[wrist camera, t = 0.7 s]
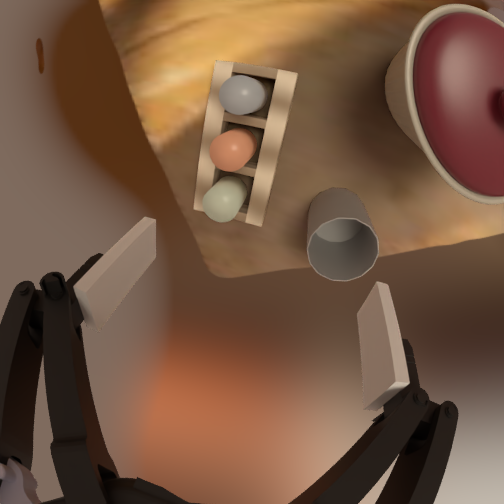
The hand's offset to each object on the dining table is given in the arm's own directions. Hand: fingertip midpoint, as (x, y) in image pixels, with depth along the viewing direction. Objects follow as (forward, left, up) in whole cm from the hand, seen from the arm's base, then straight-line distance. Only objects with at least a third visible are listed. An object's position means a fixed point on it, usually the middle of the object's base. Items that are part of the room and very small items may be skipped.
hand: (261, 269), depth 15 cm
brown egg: (-2, -7, -21) cm, 22 cm away
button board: (-2, -7, -24) cm, 25 cm away
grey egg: (-8, -7, -21) cm, 24 cm away
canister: (-16, +15, -25) cm, 33 cm away
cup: (+5, +8, -25) cm, 26 cm away
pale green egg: (+5, -7, -21) cm, 23 cm away
